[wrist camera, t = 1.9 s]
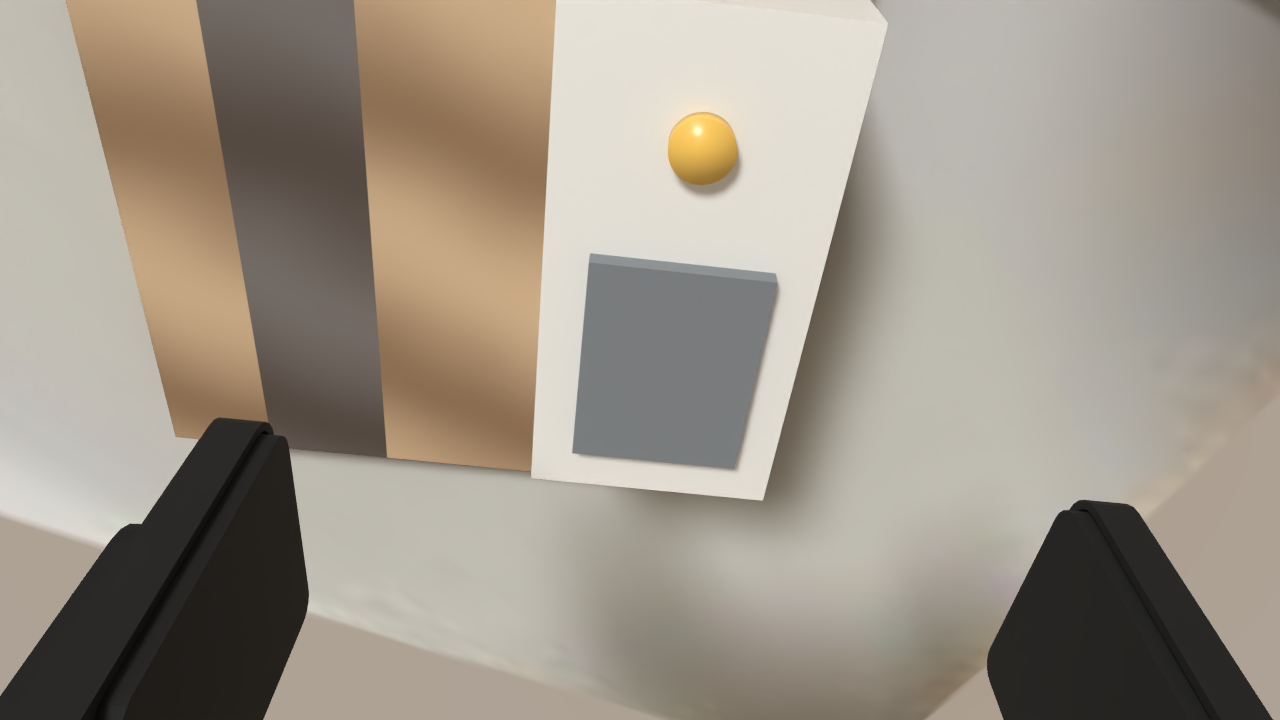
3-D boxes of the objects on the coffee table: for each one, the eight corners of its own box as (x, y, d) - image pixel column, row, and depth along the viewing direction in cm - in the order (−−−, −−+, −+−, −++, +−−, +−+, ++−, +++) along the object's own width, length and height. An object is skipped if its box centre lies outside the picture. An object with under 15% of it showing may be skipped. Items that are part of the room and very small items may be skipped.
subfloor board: (-19, -492, 14) (-63, -505, 13) (933, -357, 14) (949, -362, 14) (192, 412, 24) (175, 437, 23) (739, 466, 25) (742, 492, 24)
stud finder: (585, -83, 16) (555, -12, 12) (831, -51, 16) (893, 30, 12) (557, 333, 21) (528, 489, 17) (744, 353, 21) (764, 511, 17)
